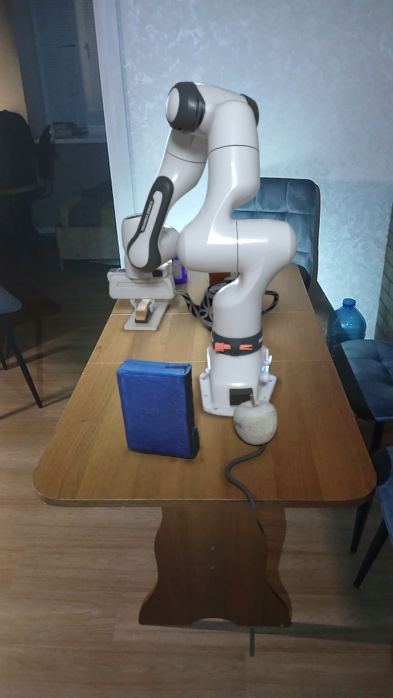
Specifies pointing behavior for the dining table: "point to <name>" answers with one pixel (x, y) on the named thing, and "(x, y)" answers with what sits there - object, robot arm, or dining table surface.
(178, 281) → the bottle
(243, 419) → the decorative object
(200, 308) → the teapot
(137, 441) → the book
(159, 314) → the tile
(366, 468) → the dining table surface
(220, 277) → the mug
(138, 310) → the brush
